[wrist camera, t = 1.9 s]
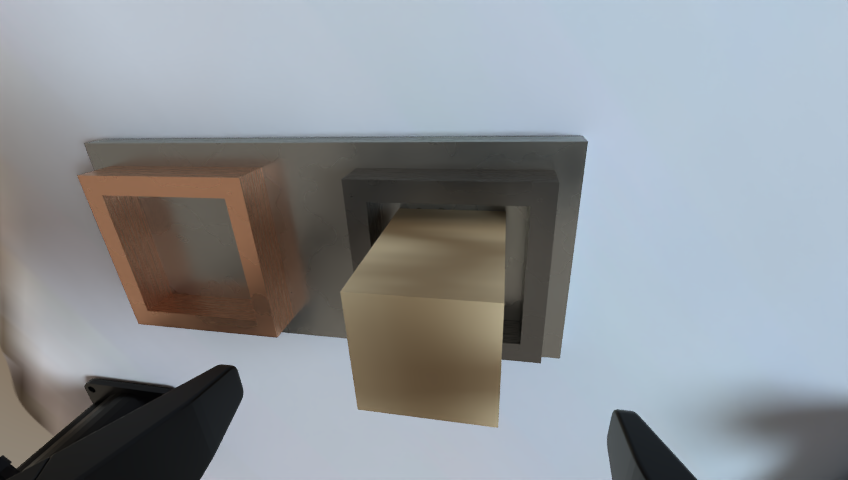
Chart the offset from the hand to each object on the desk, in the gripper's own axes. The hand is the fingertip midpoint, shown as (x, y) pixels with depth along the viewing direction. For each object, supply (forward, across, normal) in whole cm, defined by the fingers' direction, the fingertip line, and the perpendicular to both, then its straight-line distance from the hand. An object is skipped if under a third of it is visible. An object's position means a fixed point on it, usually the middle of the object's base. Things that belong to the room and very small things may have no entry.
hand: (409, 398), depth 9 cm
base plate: (+8, +5, 0) cm, 10 cm away
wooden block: (+7, 0, 0) cm, 7 cm away
